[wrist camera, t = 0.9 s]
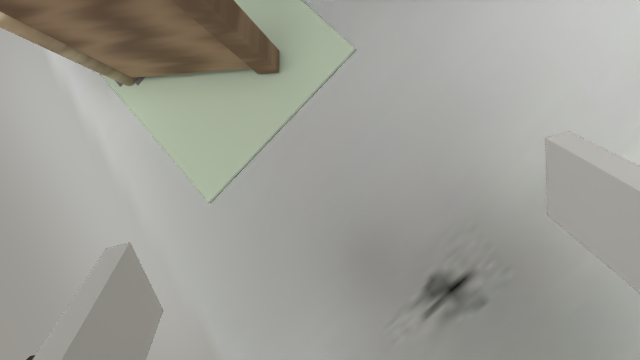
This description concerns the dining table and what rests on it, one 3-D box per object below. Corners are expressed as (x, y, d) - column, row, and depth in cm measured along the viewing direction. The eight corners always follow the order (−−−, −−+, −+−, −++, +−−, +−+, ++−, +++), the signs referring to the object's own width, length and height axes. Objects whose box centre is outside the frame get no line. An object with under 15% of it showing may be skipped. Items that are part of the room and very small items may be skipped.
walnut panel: (137, 83, 39) (-38, -2, 25) (139, 63, 39) (-34, -32, 25) (278, 72, 35) (168, -35, 21) (279, 50, 36) (170, -70, 21)
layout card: (153, -132, 42) (150, -135, 42) (355, 49, 35) (354, 47, 34) (41, 3, 44) (38, 1, 44) (210, 202, 36) (207, 202, 36)
